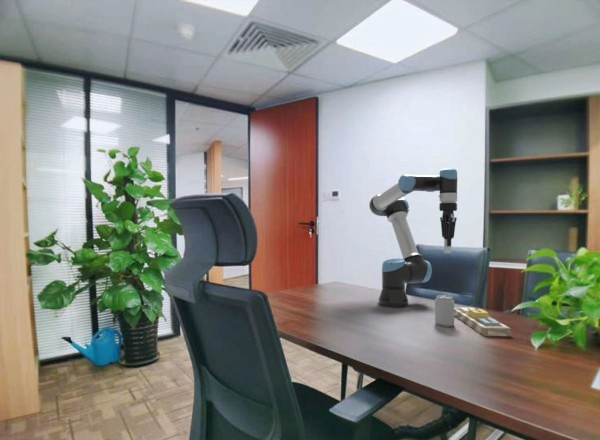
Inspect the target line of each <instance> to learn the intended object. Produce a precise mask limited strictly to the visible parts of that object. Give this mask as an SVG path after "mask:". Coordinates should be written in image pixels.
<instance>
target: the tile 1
mask: <svg viewBox="0 0 600 440" xmlns="http://www.w3.org/2000/svg"><path fill="white" fill-rule="evenodd" d="M459 308H460V311H461V312H463V313H465V314H468V309H474V307H459Z"/></svg>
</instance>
